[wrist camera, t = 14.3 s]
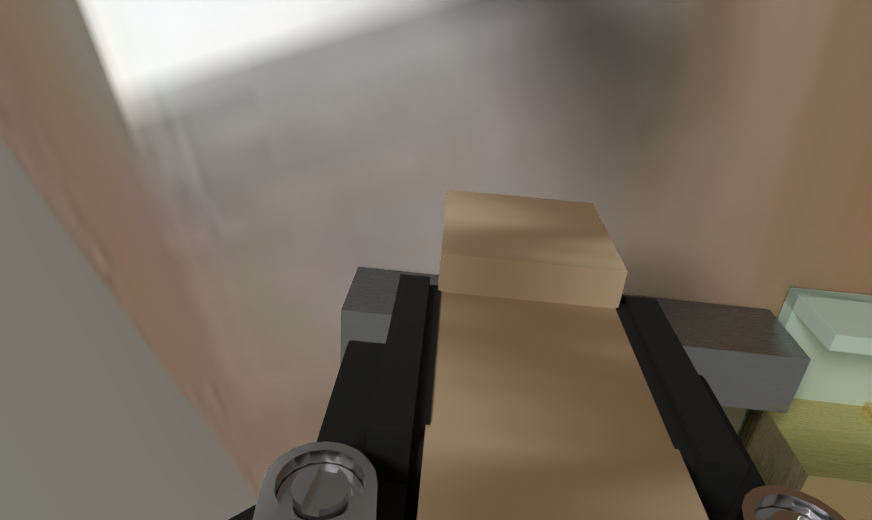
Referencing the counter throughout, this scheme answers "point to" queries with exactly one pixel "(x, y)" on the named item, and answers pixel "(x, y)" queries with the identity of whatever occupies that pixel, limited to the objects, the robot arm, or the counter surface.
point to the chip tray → (831, 344)
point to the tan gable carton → (540, 376)
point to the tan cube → (815, 452)
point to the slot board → (691, 321)
